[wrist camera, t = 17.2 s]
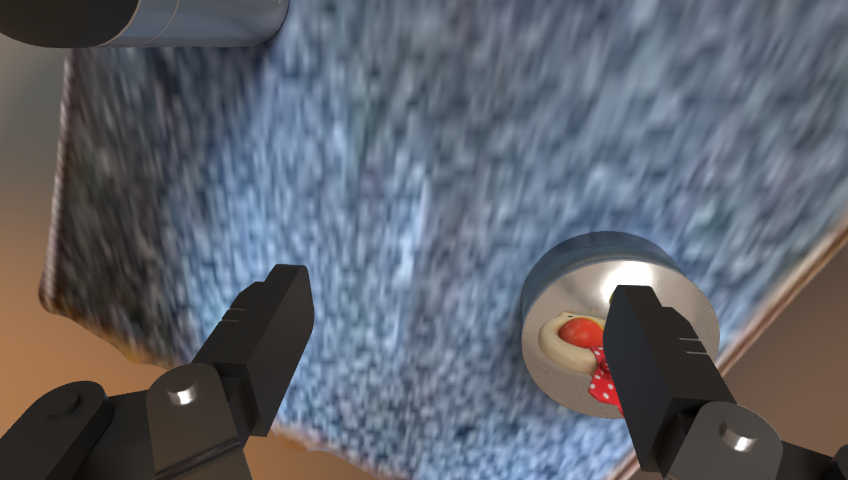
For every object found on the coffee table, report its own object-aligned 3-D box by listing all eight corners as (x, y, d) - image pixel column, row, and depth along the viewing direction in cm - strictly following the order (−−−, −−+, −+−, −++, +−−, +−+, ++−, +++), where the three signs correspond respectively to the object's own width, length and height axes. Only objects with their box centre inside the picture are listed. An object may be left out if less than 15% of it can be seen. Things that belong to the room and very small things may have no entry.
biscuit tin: (521, 368, 49) (524, 416, 43) (516, 232, 44) (518, 264, 37) (679, 369, 46) (708, 420, 40) (695, 224, 41) (731, 257, 34)
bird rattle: (561, 335, 41) (677, 361, 37) (513, 417, 33) (654, 464, 28) (561, 272, 39) (684, 290, 34) (509, 342, 31) (663, 379, 26)
